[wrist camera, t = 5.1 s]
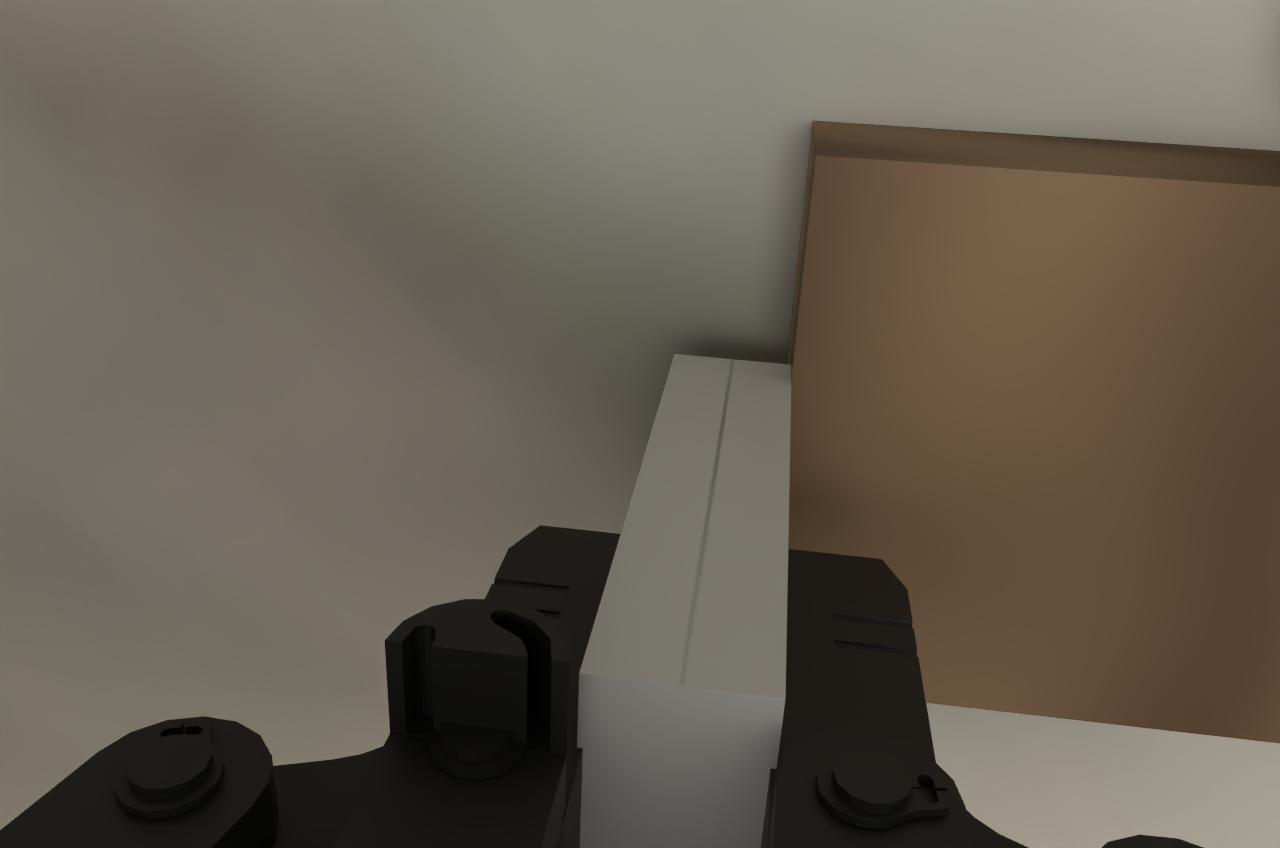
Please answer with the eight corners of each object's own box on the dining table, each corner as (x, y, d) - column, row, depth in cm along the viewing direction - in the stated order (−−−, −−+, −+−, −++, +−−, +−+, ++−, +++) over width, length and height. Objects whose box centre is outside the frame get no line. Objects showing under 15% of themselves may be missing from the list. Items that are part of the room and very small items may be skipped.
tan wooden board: (763, 582, 17) (757, 683, 15) (811, 118, 14) (815, 154, 12) (1451, 655, 16) (1558, 775, 14) (1656, 173, 13) (1837, 225, 11)
